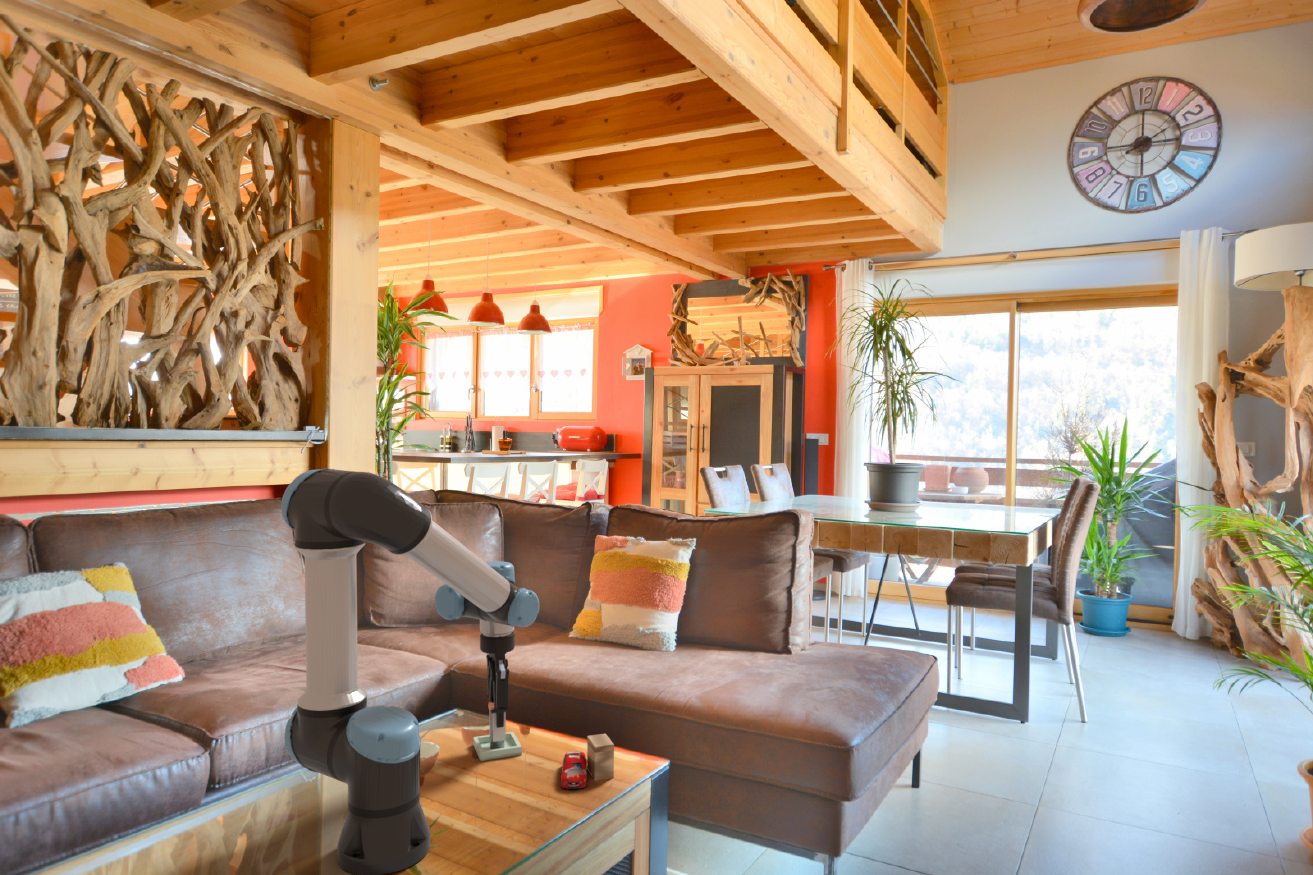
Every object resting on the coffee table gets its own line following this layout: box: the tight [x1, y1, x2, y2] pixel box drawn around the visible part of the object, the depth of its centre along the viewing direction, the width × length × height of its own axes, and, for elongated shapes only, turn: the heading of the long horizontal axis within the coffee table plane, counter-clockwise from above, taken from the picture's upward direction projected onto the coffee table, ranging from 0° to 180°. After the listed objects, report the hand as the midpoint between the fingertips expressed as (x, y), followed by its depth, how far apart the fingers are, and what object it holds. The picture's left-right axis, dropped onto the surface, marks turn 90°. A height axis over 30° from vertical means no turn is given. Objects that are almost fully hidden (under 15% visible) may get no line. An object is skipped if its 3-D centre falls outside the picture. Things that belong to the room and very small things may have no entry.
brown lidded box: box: [586, 733, 615, 781], centre depth 172 cm, size 4×6×7 cm
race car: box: [560, 751, 588, 790], centre depth 170 cm, size 13×5×4 cm, turn 3°
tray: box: [472, 731, 523, 762], centre depth 183 cm, size 9×9×2 cm
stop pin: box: [488, 700, 504, 749], centre depth 183 cm, size 4×4×10 cm
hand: (497, 736), depth 183 cm, fingers closed on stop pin, 3 cm apart
